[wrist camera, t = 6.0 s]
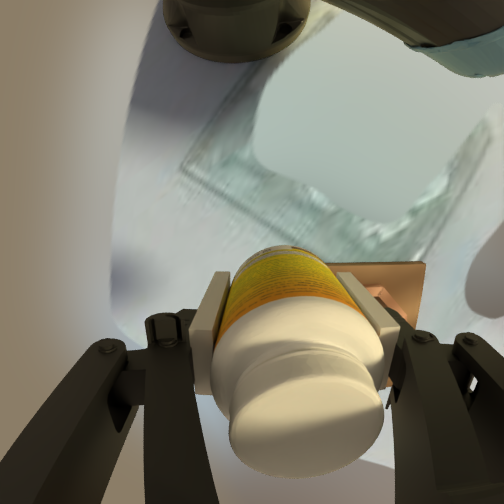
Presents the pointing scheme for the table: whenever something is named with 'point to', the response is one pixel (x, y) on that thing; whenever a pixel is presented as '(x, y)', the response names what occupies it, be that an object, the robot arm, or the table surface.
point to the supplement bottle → (296, 367)
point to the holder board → (390, 285)
